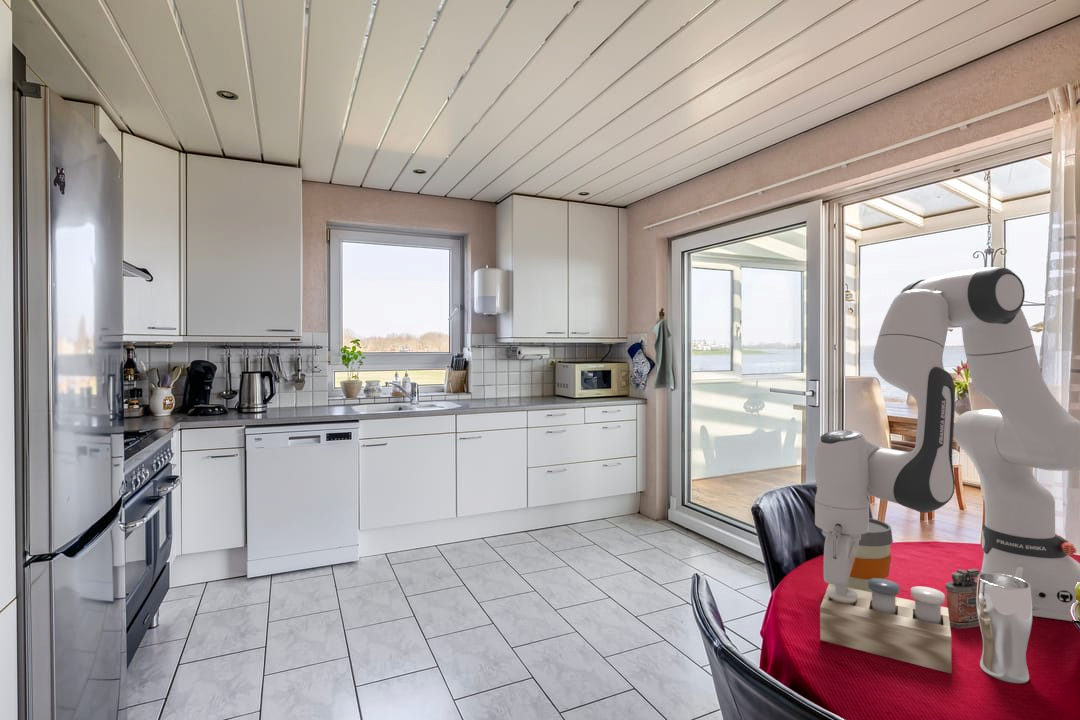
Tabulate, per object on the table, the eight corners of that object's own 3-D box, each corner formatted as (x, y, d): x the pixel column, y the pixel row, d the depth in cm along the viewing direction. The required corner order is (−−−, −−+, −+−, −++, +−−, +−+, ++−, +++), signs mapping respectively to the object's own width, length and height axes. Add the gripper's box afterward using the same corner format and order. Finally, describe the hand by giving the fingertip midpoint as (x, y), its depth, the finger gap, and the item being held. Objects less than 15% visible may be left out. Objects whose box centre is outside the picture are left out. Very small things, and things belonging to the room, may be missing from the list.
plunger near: (944, 629, 95) (944, 590, 95) (945, 641, 91) (945, 600, 91) (911, 621, 98) (911, 584, 98) (911, 633, 94) (910, 594, 94)
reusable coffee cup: (890, 611, 109) (889, 537, 109) (821, 595, 117) (820, 525, 117) (895, 589, 119) (895, 521, 119) (831, 576, 127) (830, 511, 127)
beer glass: (976, 655, 93) (976, 568, 93) (1031, 670, 89) (1031, 578, 89) (976, 674, 88) (975, 582, 88) (1034, 691, 83) (1033, 593, 83)
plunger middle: (900, 619, 99) (899, 581, 99) (899, 630, 95) (898, 591, 95) (869, 612, 102) (868, 576, 102) (867, 623, 98) (866, 585, 98)
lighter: (958, 629, 102) (957, 576, 102) (940, 621, 105) (940, 569, 105) (990, 623, 104) (990, 571, 104) (972, 615, 107) (971, 564, 107)
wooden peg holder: (948, 640, 98) (947, 607, 98) (951, 673, 88) (951, 636, 88) (829, 613, 109) (829, 583, 109) (820, 640, 99) (820, 607, 99)
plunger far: (858, 626, 103) (858, 590, 103) (856, 637, 99) (856, 600, 99) (830, 619, 106) (829, 584, 106) (826, 630, 102) (826, 593, 102)
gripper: (855, 537, 92) (855, 618, 92) (865, 508, 108) (865, 577, 109) (813, 530, 95) (814, 609, 95) (829, 503, 112) (830, 570, 112)
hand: (841, 592), depth 102 cm, fingers closed, pressing on plunger far
